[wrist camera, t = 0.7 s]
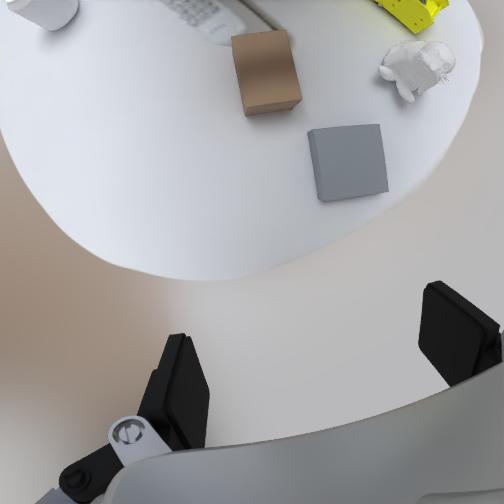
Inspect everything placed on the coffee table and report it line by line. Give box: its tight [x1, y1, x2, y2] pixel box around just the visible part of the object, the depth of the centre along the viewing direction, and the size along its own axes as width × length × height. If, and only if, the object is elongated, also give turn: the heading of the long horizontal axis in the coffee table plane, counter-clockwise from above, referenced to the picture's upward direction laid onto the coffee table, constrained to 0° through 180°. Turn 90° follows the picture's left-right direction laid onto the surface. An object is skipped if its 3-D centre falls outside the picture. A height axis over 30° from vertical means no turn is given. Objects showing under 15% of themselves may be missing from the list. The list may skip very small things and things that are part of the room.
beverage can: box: [5, 0, 78, 31], centre depth 20 cm, size 6×6×12 cm
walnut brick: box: [231, 30, 302, 116], centre depth 28 cm, size 8×6×6 cm
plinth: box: [307, 124, 389, 202], centre depth 32 cm, size 8×8×3 cm
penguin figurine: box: [378, 40, 455, 103], centre depth 25 cm, size 6×8×12 cm
